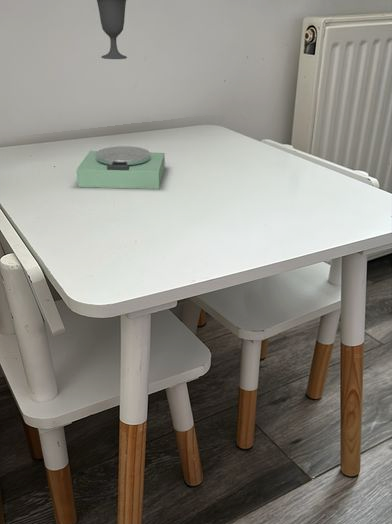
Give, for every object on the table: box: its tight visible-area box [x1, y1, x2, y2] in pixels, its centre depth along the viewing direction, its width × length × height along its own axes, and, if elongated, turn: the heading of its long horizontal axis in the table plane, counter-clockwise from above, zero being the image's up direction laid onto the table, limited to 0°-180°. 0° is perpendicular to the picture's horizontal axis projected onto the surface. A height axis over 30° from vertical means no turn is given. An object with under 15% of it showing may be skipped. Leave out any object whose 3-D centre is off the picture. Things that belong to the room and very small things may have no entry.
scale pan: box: [96, 145, 150, 165], centre depth 99 cm, size 10×10×1 cm
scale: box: [76, 150, 166, 190], centre depth 100 cm, size 14×12×4 cm
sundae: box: [96, 0, 128, 60], centre depth 104 cm, size 7×7×15 cm
